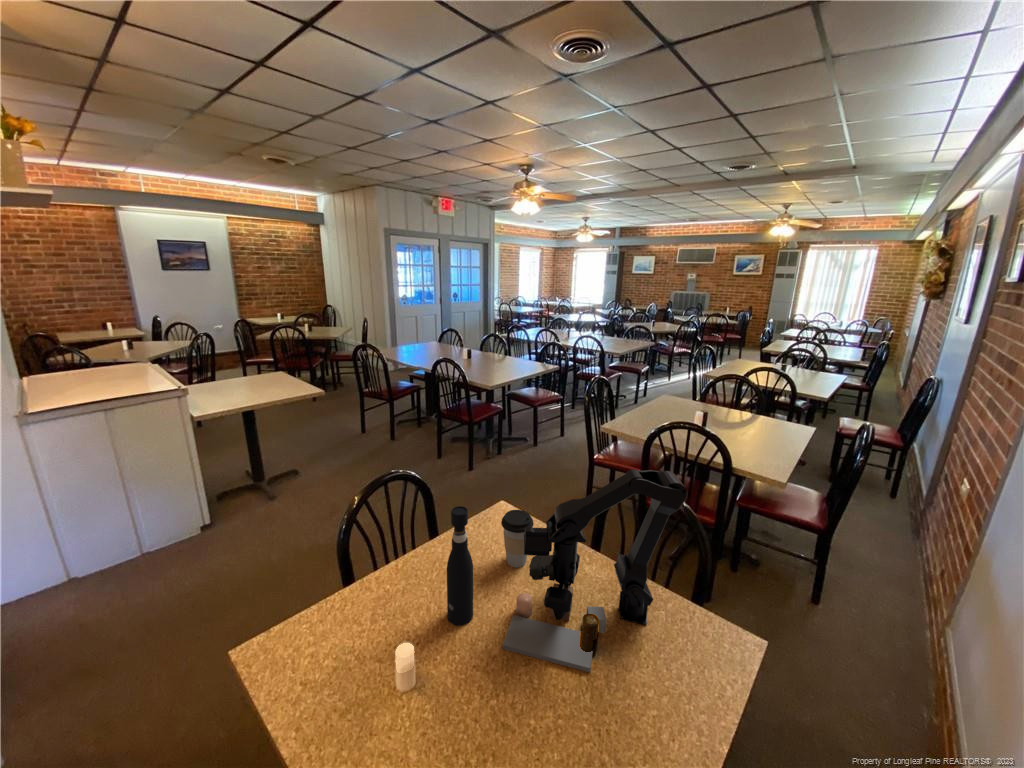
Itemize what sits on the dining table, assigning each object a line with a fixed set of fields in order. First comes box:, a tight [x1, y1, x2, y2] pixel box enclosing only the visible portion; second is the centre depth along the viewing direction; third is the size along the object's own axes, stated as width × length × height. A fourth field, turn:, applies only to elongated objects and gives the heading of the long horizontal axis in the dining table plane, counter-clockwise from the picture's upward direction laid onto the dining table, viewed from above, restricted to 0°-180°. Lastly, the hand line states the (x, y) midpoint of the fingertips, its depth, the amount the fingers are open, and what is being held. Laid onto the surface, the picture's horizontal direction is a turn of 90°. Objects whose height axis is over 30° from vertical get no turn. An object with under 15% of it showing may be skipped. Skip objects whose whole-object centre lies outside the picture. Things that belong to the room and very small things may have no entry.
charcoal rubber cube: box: [586, 605, 607, 634], centre depth 102 cm, size 4×4×4 cm
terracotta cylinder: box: [515, 592, 533, 619], centre depth 106 cm, size 4×4×4 cm
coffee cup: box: [500, 509, 535, 569], centre depth 123 cm, size 9×9×15 cm
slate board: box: [502, 614, 594, 673], centre depth 97 cm, size 20×9×1 cm, turn 74°
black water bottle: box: [446, 505, 474, 627], centre depth 101 cm, size 6×6×30 cm
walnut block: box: [548, 582, 574, 622], centre depth 106 cm, size 5×5×6 cm
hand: (561, 606), depth 107 cm, fingers open, 9 cm apart
